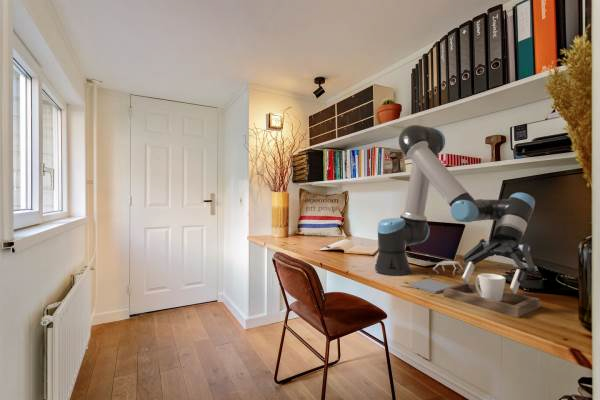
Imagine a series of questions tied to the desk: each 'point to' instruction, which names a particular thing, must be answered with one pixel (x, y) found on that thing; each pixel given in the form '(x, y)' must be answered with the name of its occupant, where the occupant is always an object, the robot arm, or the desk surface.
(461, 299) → the tray
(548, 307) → the desk surface
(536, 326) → the desk surface
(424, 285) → the grey mat
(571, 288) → the desk surface
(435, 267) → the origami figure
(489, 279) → the cup
